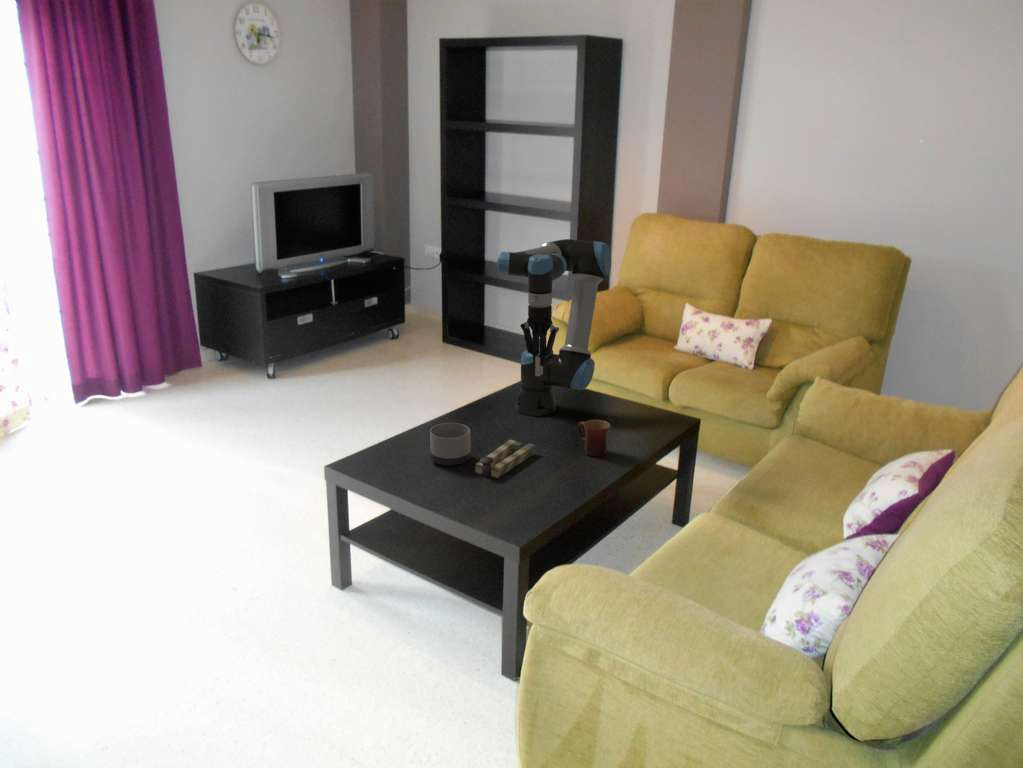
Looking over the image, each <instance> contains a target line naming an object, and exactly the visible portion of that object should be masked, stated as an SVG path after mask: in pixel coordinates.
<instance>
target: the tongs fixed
mask: <svg viewBox="0 0 1023 768" xmlns="http://www.w3.org/2000/svg"><path fill="white" fill-rule="evenodd" d="M522 447H523V442H519V441H516V440H513V439H509V440H507V441H506V442H505V443H503V444H501V445H500V446H499V447H498V448H496V449H494V450H493V451H492V452H491V453H489V454H488V455H486V456H483V457H481V458H480V460H479V461H478V462H476V463H475V464H474V465H475V473H476V474H478V475H482V477H483V478H490V477H492V476H491V467H493V466H494V465H496V464H498V463H499V462H501V461H502V460H504V459H505V458H507V457H508V456H510V455H512V454H513V453H515V452H516V451H518V450H519V449H521V448H522Z"/></svg>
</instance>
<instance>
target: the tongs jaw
mask: <svg viewBox="0 0 1023 768" xmlns="http://www.w3.org/2000/svg"><path fill="white" fill-rule="evenodd" d="M535 454H536V444H533V443H527V444H525V445H524V446H522V448H521V449H519V450H518V451H516V452H515V453H513V452H512V453H511V454H509V455H508V456H506V457H505V458H504V459H502V460H501V461H500V462H498V463H497V464H496V465H494V466H493V467H491V476H490V477H493V478H496V479H499V478H500V477H502V476H503V475H505V474H506V473H508V472H509V471H511V470H512V469H514V468H515V467H517V466H518V465H520V464H521V463H523V462H524V461H526V460H527V459H529V458H531V457H532V456H534V455H535Z"/></svg>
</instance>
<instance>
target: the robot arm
mask: <svg viewBox="0 0 1023 768" xmlns="http://www.w3.org/2000/svg"><path fill="white" fill-rule="evenodd" d="M611 254H612V253H611V250H610V247H609V245H608V244H607V243H606V242H603V241H597V240H583V239H570V238H567V239H566V238H565V239H559V240H553V241H550V242H545V243H543V244H541V245H540V246H539V247H536V248H535V247H534V248H530V249H526V250H523V251H521V250H520V251H517V252H512V251H511V252H510V251H501V252H500V253H499V254H498V256H497V260H496V269H497V272H498V273H499V274H500V275H504V276H508V277H509V276H512V277H513V276H514V277H523V278H527V280H528V281H527V283H528V286H527V287H528V290H527V291H528V293H527V294H528V295H527V297H528V298H527V301H528V302H527V303H528V305H527V316H528V317H527V319H526V321H525V322H523V323H521V324H520V325H519V326H520V328H521V330H522V331H523V336H524V341H525V347H526V350H524V351H523V352H522V354H521V359H520V391H519V393H518V395H517V398H516V402H515V410H516V411H517V413H520V414H522V415H526V416H532V417H538V416H539V417H540V416H541V417H542V416H547V415H550V414H553V413H554V412H555V411H556V410H557V402H556V398H555V395H554V392H553V387H557V388H558V387H559V388H564V389H569V390H570V389H571V390H580V391H583V390H585V389H586V388H588V386H589V385H590V383H591V381H592V380H593V376H594V372H595V365H596V363H595V360H594V359H593V358H592V353H591V351H590V350H589V343H590V337H591V332H592V331H591V330H592V326H593V319H594V312H595V306H596V300H597V295H598V288H599V285H600V283H602V282H603V281H604V277H605V276H608V275H609V274H610V273H611V267H612V256H611ZM565 272H571V277H572V278H573V280H574V284H573V292H572V297H571V303H570V310H569V315H568V322H567V328H566V334H565V340H564V341H565V342H564V345H563V346H562V347H561V348H559V351H558V354H557V353H554V350H553V348H554V344H555V341H556V336H557V334H558V332H559V330H560V328H559V327H558V326H557V327H556V326H555V325H554V324H553V321H552V316H553V315H552V313H553V306H552V304H553V281H555V280H557V279H558V278H561V276H563V274H565ZM548 332H550V333H549V336H548ZM547 336H548V339H547Z"/></svg>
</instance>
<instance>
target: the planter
mask: <svg viewBox="0 0 1023 768" xmlns="http://www.w3.org/2000/svg"><path fill="white" fill-rule="evenodd" d="M429 441H430V442H429V444H430V449H429V450H430V459H431V461H433V462H434V463H436V464H439V465H442V466H447V465H449V466H452V465H453V466H457V465H461V464H464V463H466V462H468V460H470V458H471V429H470V427H469V426H467V424H463V423H457V422H445V423H439V424H436V425H434V426H432V427H431V428H430V430H429ZM449 466H448V467H449ZM453 466H452V467H453Z"/></svg>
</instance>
